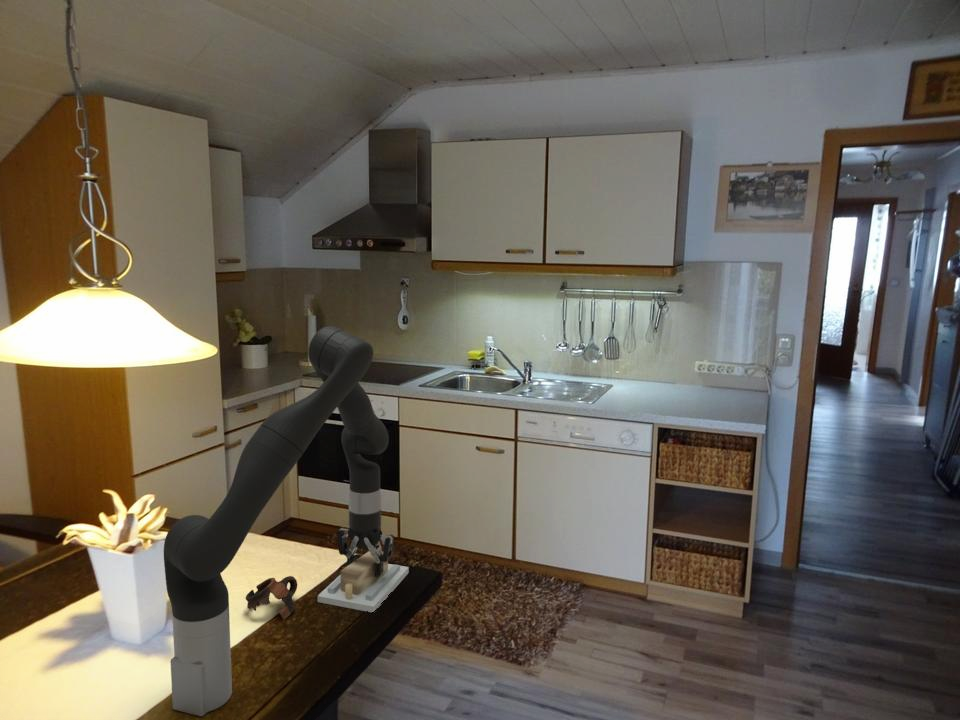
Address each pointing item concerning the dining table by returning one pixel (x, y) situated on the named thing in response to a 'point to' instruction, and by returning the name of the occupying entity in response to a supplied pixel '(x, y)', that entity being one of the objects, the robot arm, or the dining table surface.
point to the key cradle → (368, 597)
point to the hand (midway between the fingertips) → (365, 573)
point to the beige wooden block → (361, 573)
